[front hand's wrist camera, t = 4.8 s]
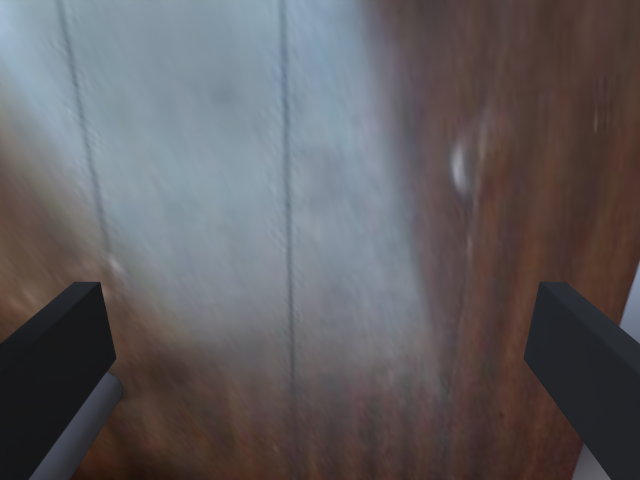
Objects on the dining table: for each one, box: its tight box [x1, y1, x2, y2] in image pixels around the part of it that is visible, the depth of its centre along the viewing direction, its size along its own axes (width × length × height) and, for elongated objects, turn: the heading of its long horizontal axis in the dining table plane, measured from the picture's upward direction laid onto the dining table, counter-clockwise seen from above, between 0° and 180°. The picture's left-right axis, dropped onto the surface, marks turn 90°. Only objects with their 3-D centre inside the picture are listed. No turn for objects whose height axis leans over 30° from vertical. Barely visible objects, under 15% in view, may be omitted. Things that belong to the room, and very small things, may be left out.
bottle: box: [29, 372, 123, 480], centre depth 40 cm, size 5×5×18 cm
